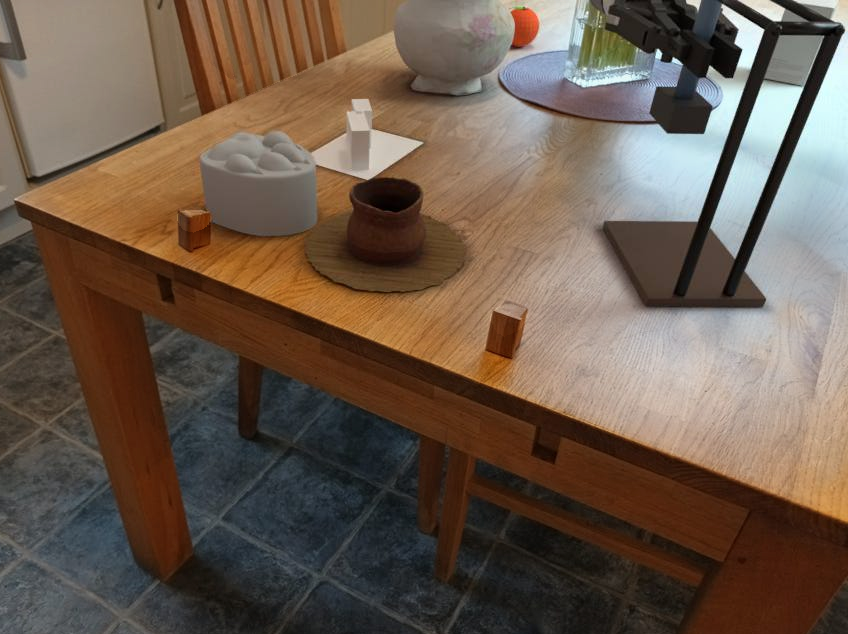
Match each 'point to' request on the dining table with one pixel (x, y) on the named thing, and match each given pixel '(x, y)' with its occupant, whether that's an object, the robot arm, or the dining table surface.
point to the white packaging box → (798, 47)
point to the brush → (687, 86)
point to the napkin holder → (363, 146)
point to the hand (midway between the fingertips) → (720, 63)
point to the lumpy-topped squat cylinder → (260, 185)
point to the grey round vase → (452, 42)
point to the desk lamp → (695, 241)
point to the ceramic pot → (386, 241)
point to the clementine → (524, 26)
